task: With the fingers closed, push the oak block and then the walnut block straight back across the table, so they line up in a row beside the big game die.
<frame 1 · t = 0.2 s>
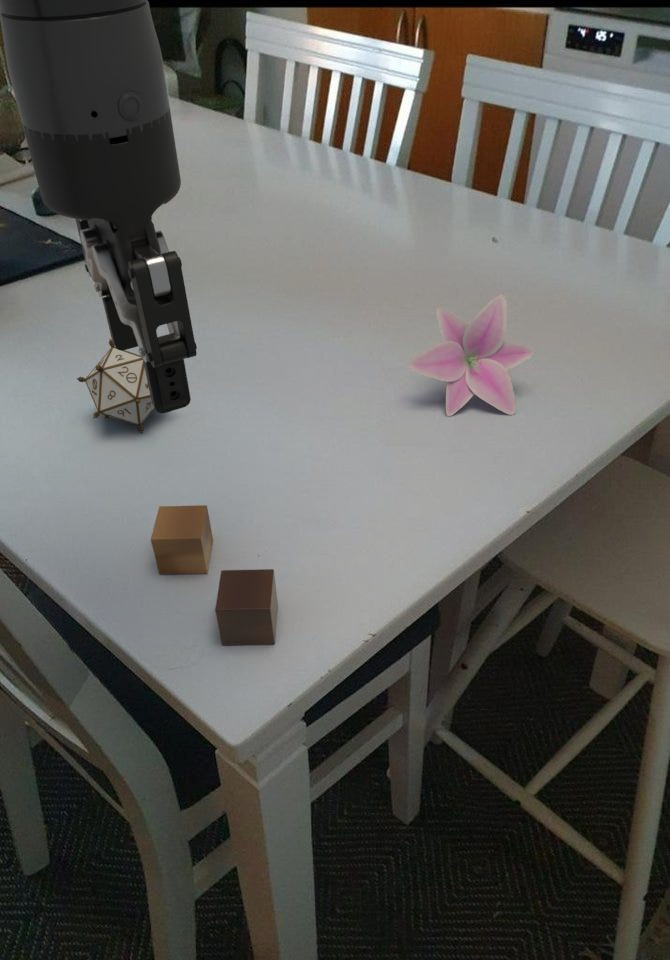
hand: (150, 375, 52), 20 cm above the table, tool pointing down, fingers open, 8 cm apart
walnut block: (250, 624, 62), on the table
lily: (468, 398, 85), on the table
oak block: (186, 556, 68), on the table
game die: (134, 420, 84), on the table
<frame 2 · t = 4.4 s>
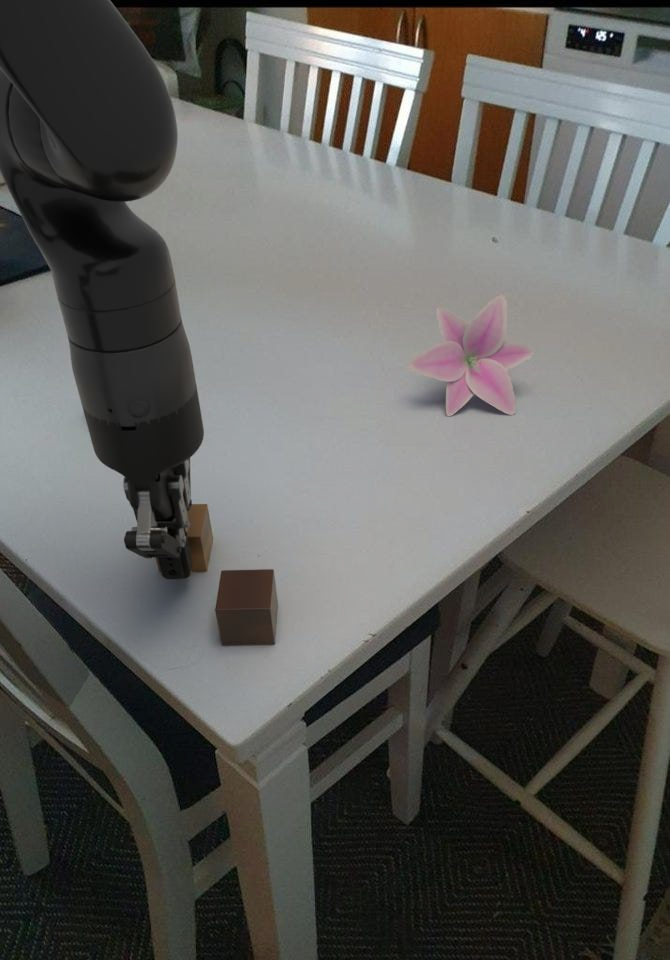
hand: (178, 572, 64), 2 cm above the table, tool pointing down, fingers closed
oak block: (186, 555, 68), on the table, touching gripper
everything else where it was.
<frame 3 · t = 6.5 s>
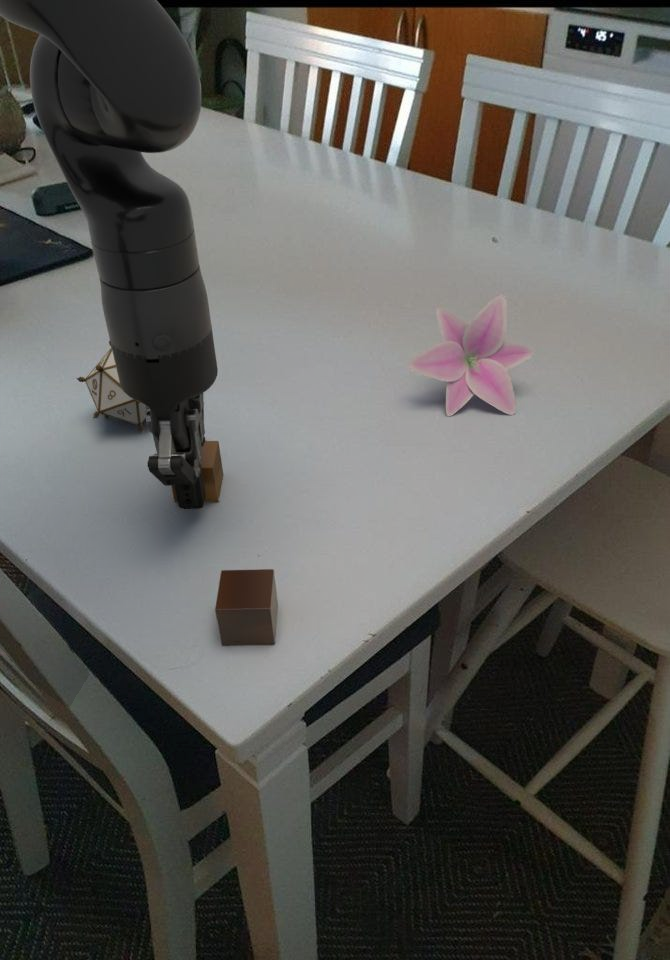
hand: (192, 503, 71), 2 cm above the table, tool pointing down, fingers closed
oak block: (199, 488, 75), on the table, touching gripper
everything else where it was.
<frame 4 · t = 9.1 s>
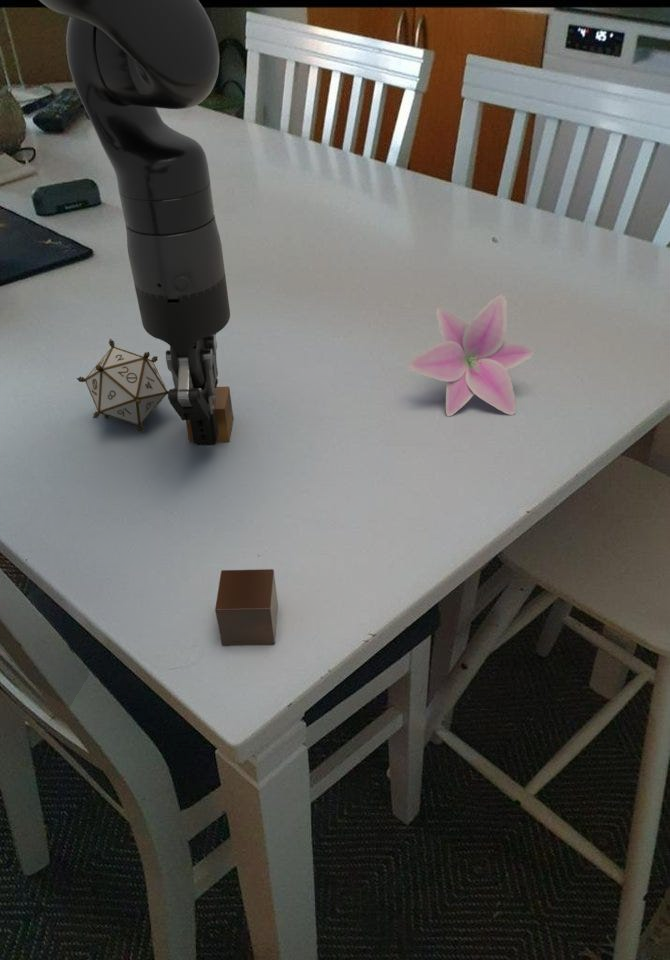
hand: (206, 441, 78), 2 cm above the table, tool pointing down, fingers closed
oak block: (212, 430, 82), on the table, touching gripper
everything else where it was.
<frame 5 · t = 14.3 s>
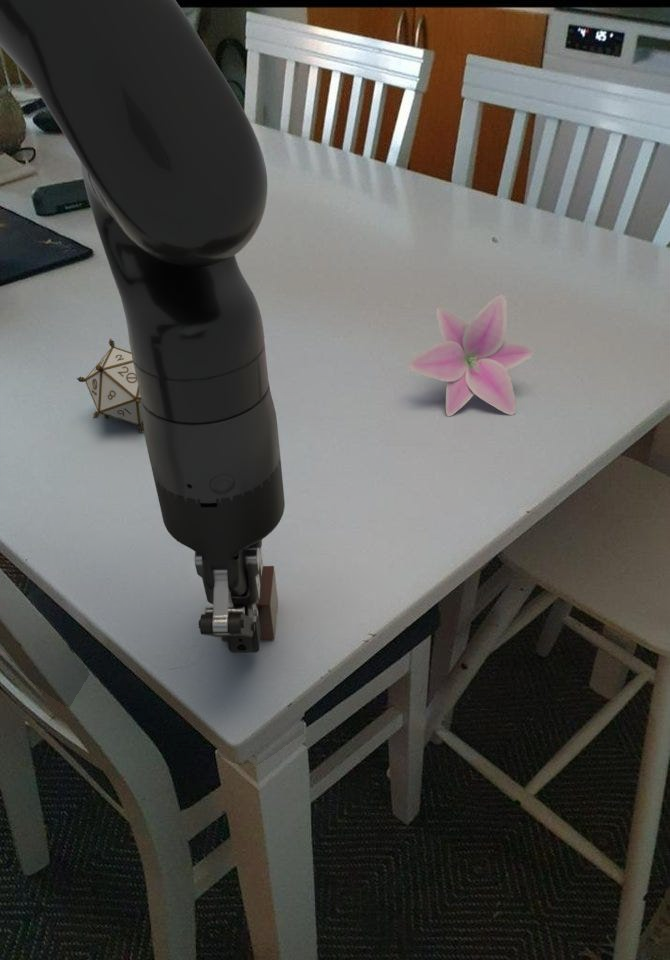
hand: (245, 645, 58), 2 cm above the table, tool pointing down, fingers closed
walnut block: (250, 620, 62), on the table, touching gripper
oak block: (211, 430, 82), on the table
everything else where it was.
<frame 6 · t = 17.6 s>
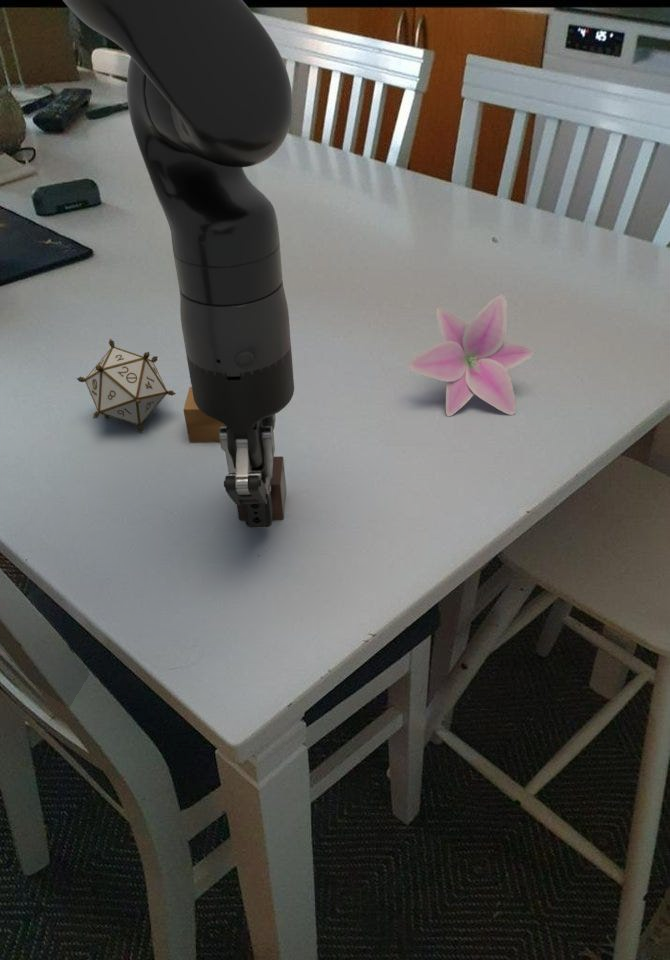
hand: (259, 521, 69), 2 cm above the table, tool pointing down, fingers closed
walnut block: (263, 505, 73), on the table, touching gripper
everything else where it was.
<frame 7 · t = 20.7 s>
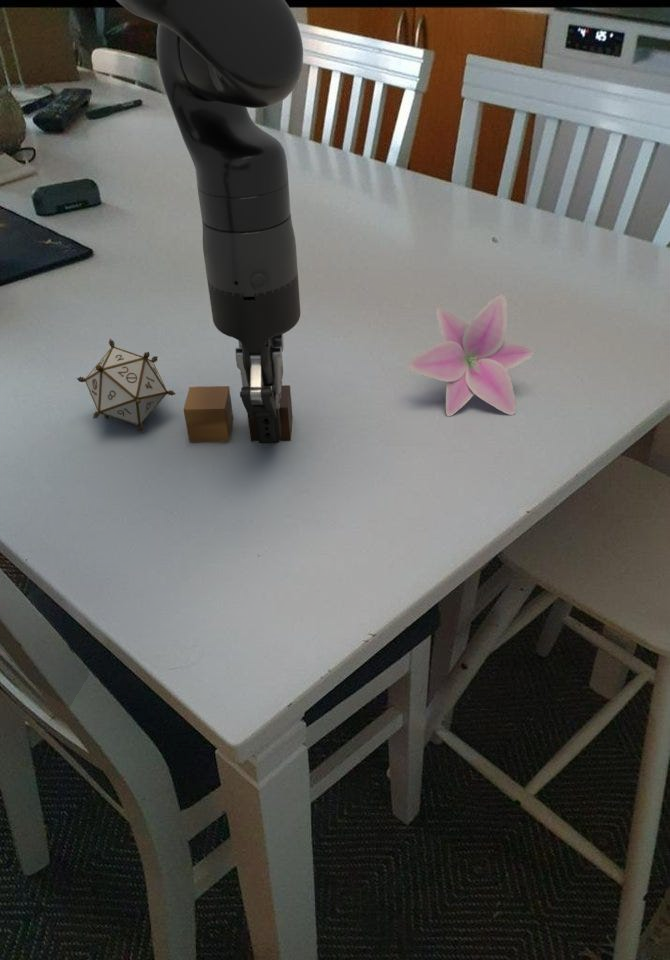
hand: (269, 439, 78), 2 cm above the table, tool pointing down, fingers closed
walnut block: (272, 429, 82), on the table, touching gripper
everything else where it was.
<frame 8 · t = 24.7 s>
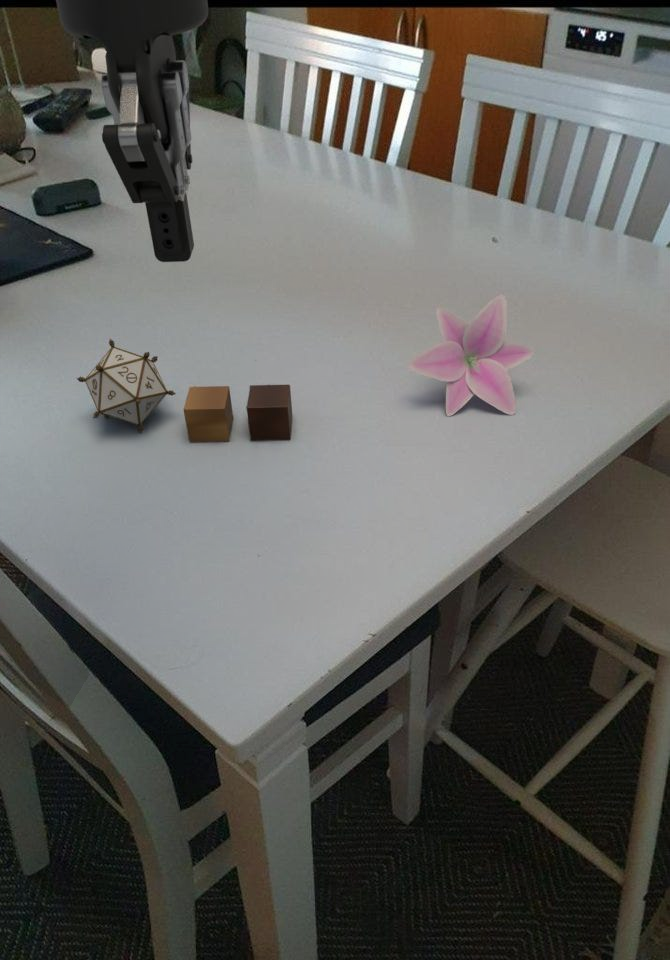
hand: (175, 256, 50), 27 cm above the table, tool pointing down, fingers closed
walnut block: (271, 428, 82), on the table
everything else where it was.
at the end: oak block inside the target area on the table beside the game die (0.9 cm from its centre), on the table; walnut block inside the target area on the table beside the game die (0.9 cm from its centre), on the table; game die moved 0.2 cm from its start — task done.
